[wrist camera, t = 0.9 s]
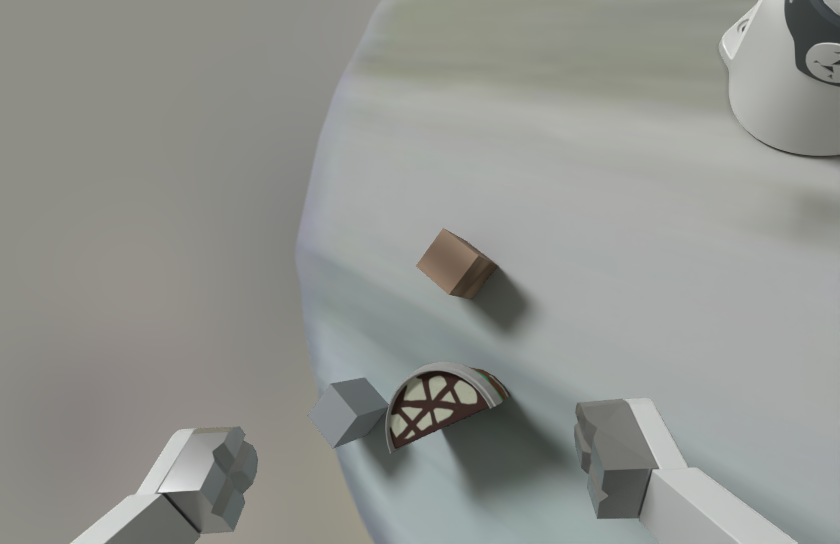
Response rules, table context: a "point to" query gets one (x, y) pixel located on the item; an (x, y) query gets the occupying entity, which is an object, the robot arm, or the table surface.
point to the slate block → (347, 411)
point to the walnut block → (456, 265)
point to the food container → (438, 400)
